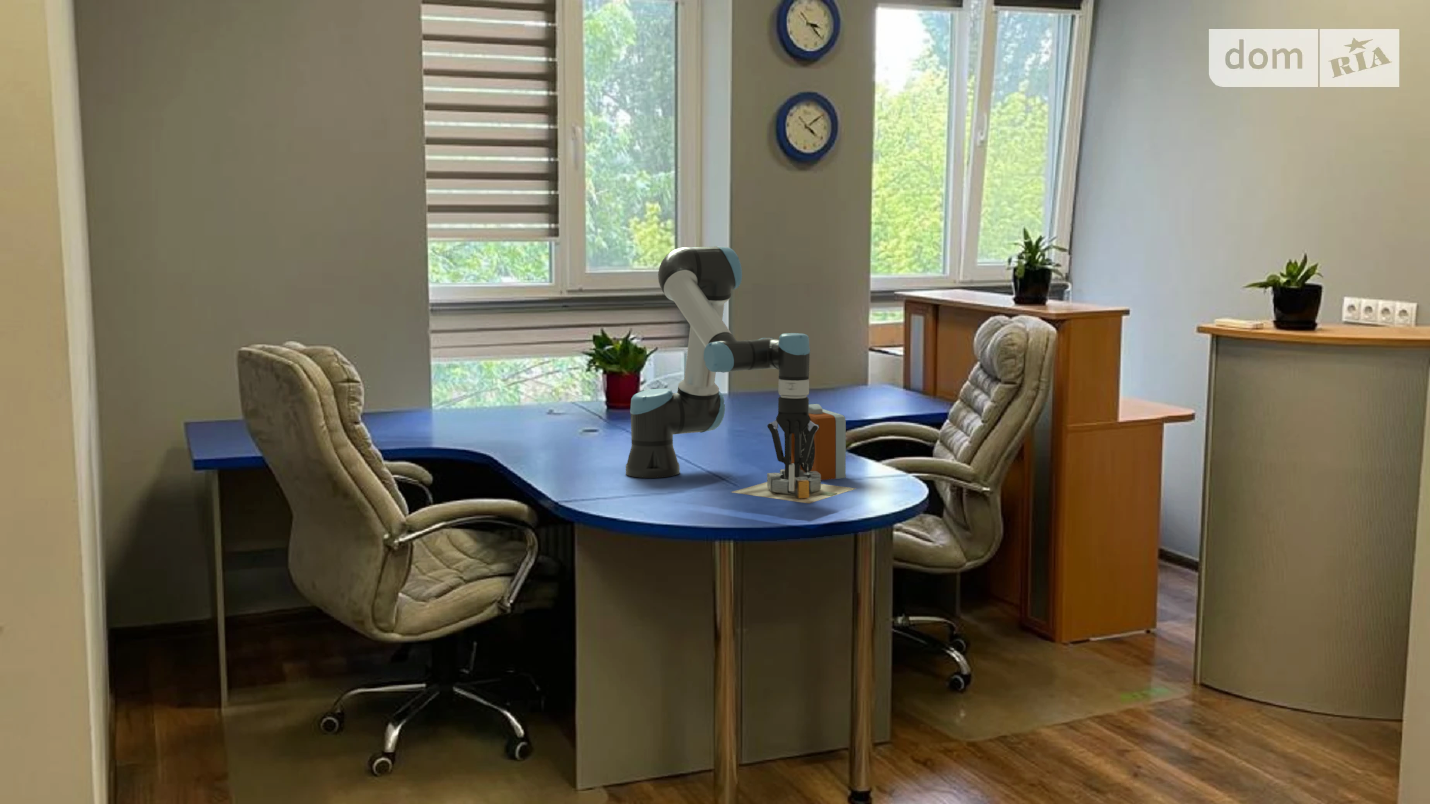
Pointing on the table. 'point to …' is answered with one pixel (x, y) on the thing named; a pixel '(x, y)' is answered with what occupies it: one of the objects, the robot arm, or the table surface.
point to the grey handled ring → (803, 484)
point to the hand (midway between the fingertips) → (792, 490)
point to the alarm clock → (825, 444)
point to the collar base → (813, 496)
